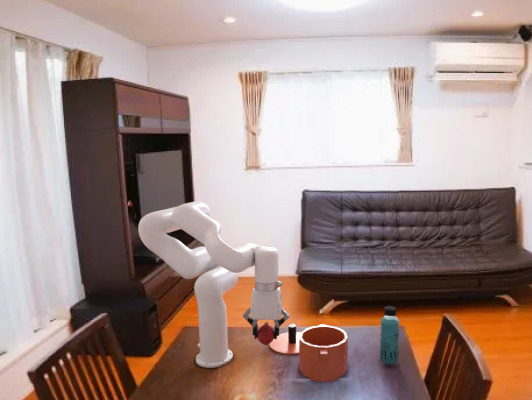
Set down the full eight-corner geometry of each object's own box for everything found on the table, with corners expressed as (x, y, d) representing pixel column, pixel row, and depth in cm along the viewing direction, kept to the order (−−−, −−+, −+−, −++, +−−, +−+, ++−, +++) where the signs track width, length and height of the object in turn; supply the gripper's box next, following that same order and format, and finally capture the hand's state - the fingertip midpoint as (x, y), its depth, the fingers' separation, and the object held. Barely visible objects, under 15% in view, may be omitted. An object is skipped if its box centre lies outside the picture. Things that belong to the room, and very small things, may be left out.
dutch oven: (298, 386, 133) (298, 351, 131) (300, 353, 154) (300, 322, 153) (349, 386, 133) (350, 351, 132) (344, 352, 154) (345, 322, 153)
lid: (266, 356, 152) (266, 336, 151) (271, 334, 169) (271, 316, 168) (315, 356, 152) (315, 335, 151) (315, 334, 169) (315, 315, 168)
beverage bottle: (377, 366, 145) (378, 310, 142) (382, 357, 151) (383, 303, 148) (396, 370, 143) (397, 312, 140) (400, 360, 149) (401, 305, 146)
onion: (271, 350, 139) (271, 327, 138) (254, 348, 140) (254, 325, 139) (276, 342, 145) (277, 319, 144) (260, 340, 146) (260, 318, 145)
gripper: (293, 281, 143) (292, 332, 146) (241, 280, 143) (241, 331, 146) (292, 289, 136) (291, 343, 139) (237, 288, 136) (238, 342, 138)
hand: (266, 336), depth 142 cm, fingers closed on onion, 5 cm apart
